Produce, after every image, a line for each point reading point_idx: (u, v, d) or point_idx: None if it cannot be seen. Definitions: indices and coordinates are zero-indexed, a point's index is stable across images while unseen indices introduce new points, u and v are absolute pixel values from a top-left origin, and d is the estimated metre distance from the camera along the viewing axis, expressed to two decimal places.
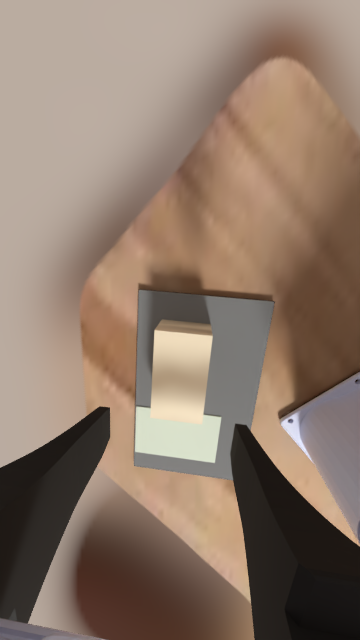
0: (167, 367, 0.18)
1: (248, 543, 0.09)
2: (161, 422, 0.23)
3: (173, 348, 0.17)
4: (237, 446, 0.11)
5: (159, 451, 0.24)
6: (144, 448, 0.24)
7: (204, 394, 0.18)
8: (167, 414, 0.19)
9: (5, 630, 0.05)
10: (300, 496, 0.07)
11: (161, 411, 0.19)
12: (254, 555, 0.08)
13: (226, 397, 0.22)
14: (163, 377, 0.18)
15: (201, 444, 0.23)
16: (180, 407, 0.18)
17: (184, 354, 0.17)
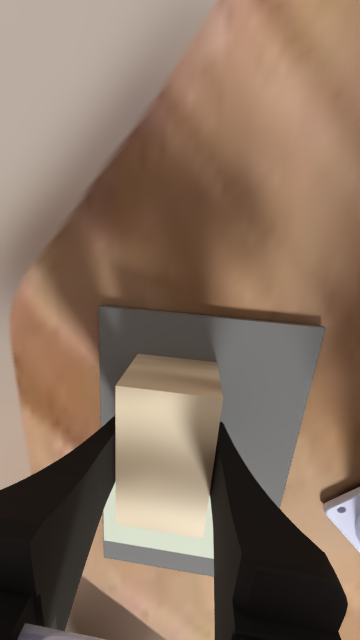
0: (141, 448, 0.10)
1: (215, 538, 0.09)
2: None
3: (150, 417, 0.09)
4: None
5: (140, 540, 0.16)
6: (117, 535, 0.16)
7: (207, 493, 0.10)
8: (143, 520, 0.11)
9: None
10: (262, 490, 0.08)
11: (133, 515, 0.11)
12: (218, 549, 0.08)
13: None
14: (135, 464, 0.10)
15: None
16: (165, 511, 0.11)
17: (171, 427, 0.09)
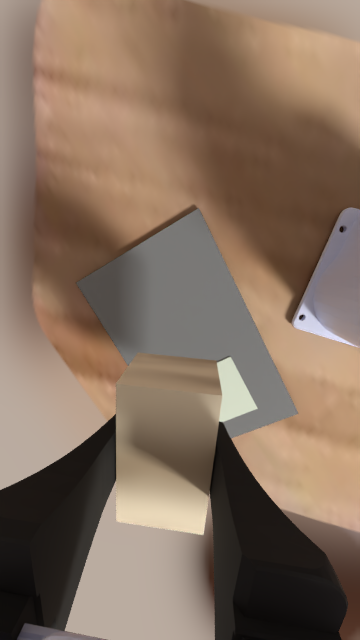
0: (141, 446, 0.10)
1: (215, 538, 0.09)
2: None
3: (150, 414, 0.10)
4: None
5: None
6: None
7: (207, 490, 0.10)
8: (144, 517, 0.11)
9: None
10: (262, 490, 0.08)
11: (134, 512, 0.11)
12: (218, 549, 0.08)
13: (222, 333, 0.19)
14: (135, 462, 0.10)
15: (231, 397, 0.20)
16: (165, 508, 0.11)
17: (171, 425, 0.10)
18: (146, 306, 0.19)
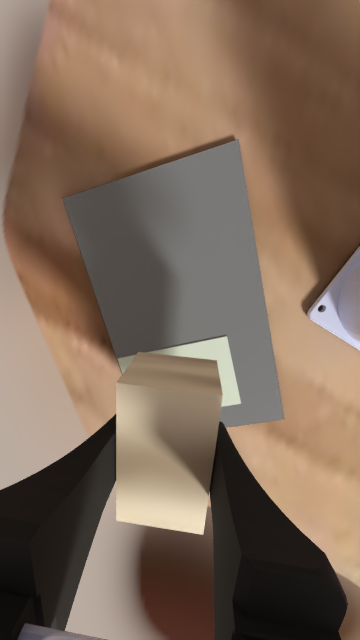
0: (141, 445, 0.10)
1: (215, 538, 0.09)
2: None
3: (150, 414, 0.10)
4: None
5: None
6: None
7: (207, 489, 0.10)
8: (143, 516, 0.11)
9: None
10: (262, 490, 0.08)
11: (134, 512, 0.11)
12: (218, 549, 0.08)
13: (224, 306, 0.16)
14: (135, 461, 0.10)
15: None
16: (165, 508, 0.11)
17: (172, 424, 0.10)
18: (142, 251, 0.15)
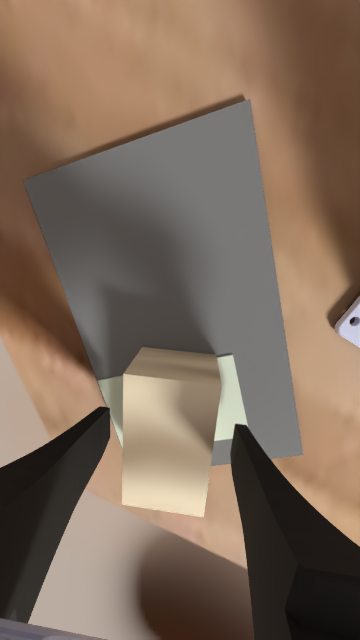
0: (146, 432, 0.11)
1: (248, 543, 0.09)
2: None
3: (155, 403, 0.10)
4: (237, 446, 0.11)
5: None
6: None
7: (207, 474, 0.11)
8: (148, 500, 0.12)
9: (5, 630, 0.05)
10: (300, 496, 0.07)
11: (139, 496, 0.12)
12: (254, 555, 0.08)
13: (229, 318, 0.12)
14: (140, 447, 0.11)
15: None
16: (168, 492, 0.12)
17: (174, 413, 0.10)
18: (126, 247, 0.12)
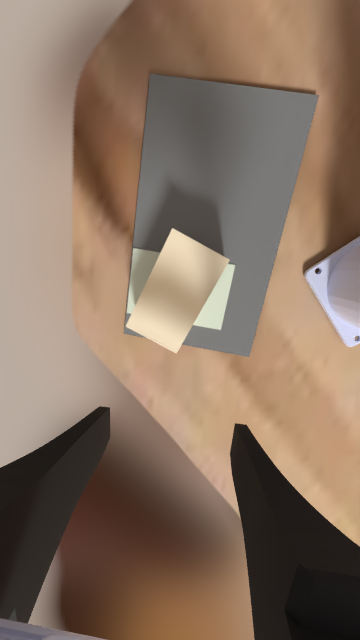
0: (167, 276, 0.16)
1: (248, 543, 0.09)
2: None
3: (183, 256, 0.15)
4: (237, 446, 0.11)
5: None
6: None
7: (193, 321, 0.16)
8: (145, 329, 0.17)
9: (5, 630, 0.05)
10: (300, 496, 0.07)
11: (140, 323, 0.17)
12: (254, 555, 0.08)
13: (244, 238, 0.18)
14: (158, 286, 0.16)
15: (206, 303, 0.19)
16: (161, 326, 0.17)
17: (192, 268, 0.15)
18: (199, 157, 0.17)
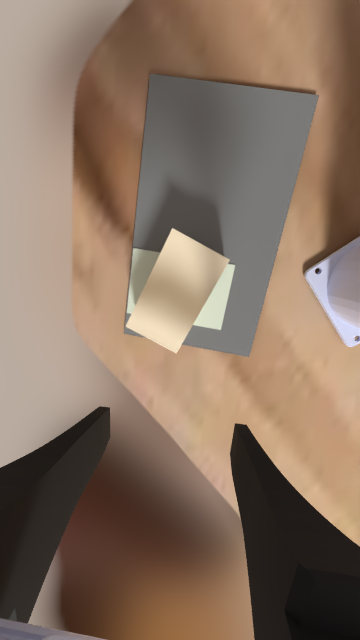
0: (167, 276, 0.16)
1: (248, 543, 0.09)
2: None
3: (183, 256, 0.15)
4: (237, 446, 0.11)
5: None
6: None
7: (193, 321, 0.16)
8: (145, 329, 0.17)
9: (5, 630, 0.05)
10: (300, 496, 0.07)
11: (140, 323, 0.17)
12: (254, 555, 0.08)
13: (244, 238, 0.18)
14: (158, 286, 0.16)
15: (206, 303, 0.19)
16: (161, 326, 0.17)
17: (192, 268, 0.15)
18: (199, 157, 0.17)
